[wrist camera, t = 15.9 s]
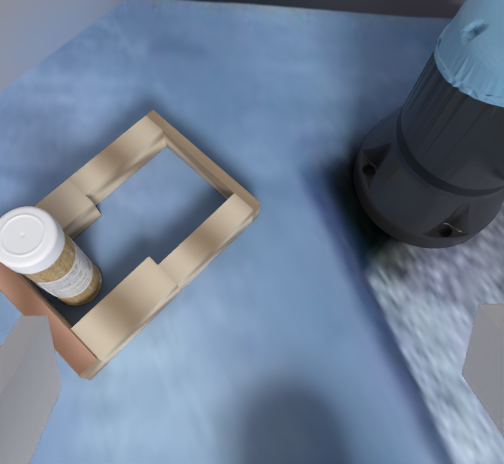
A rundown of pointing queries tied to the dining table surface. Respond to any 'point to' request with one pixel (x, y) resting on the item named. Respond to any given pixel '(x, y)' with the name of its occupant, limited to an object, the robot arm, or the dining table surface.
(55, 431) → the dining table surface
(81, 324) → the light wood rectangular frame
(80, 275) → the sprinkles bottle
